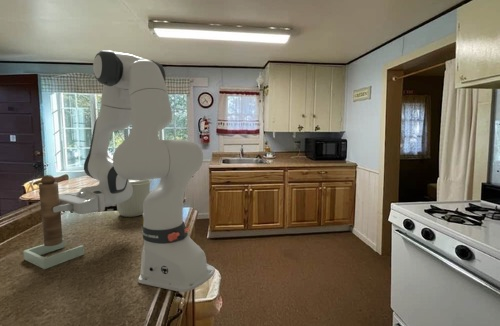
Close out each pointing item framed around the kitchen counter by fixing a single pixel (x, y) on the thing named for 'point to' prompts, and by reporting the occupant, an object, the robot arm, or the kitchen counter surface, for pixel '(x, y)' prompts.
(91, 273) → the kitchen counter surface
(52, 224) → the pepper mill
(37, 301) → the kitchen counter surface
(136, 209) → the canister
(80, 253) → the box
